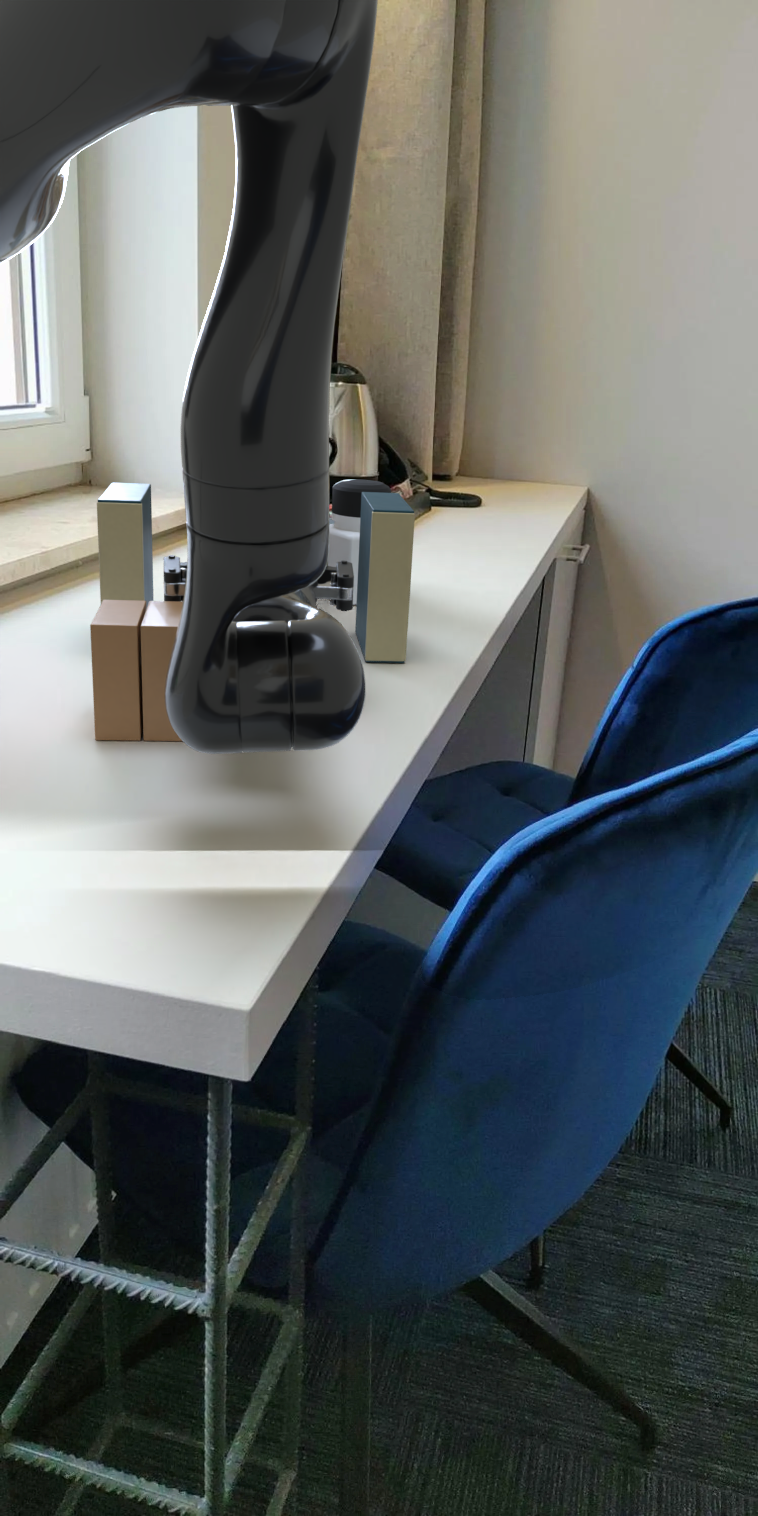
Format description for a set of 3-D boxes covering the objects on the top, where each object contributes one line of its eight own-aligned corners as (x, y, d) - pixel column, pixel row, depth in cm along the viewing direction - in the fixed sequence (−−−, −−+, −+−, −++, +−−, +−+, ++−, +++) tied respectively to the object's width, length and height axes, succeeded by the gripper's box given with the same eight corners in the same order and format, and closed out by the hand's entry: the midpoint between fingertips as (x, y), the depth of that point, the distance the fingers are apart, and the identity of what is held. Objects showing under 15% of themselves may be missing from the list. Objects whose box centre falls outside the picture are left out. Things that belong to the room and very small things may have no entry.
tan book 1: (95, 740, 75) (90, 624, 72) (107, 706, 81) (102, 599, 78) (140, 740, 75) (137, 625, 72) (148, 707, 82) (146, 600, 79)
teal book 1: (102, 658, 93) (96, 499, 88) (115, 626, 102) (110, 482, 97) (145, 658, 93) (141, 501, 88) (154, 627, 102) (151, 483, 98)
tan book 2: (143, 740, 75) (140, 625, 72) (151, 707, 82) (149, 600, 79) (188, 741, 76) (187, 626, 73) (193, 708, 82) (192, 601, 79)
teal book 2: (365, 663, 95) (372, 509, 91) (354, 632, 105) (360, 491, 100) (405, 663, 96) (415, 511, 91) (391, 632, 105) (399, 492, 100)
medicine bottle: (403, 600, 118) (410, 484, 114) (347, 606, 114) (352, 487, 110) (365, 586, 123) (370, 475, 119) (310, 591, 119) (314, 477, 115)
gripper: (368, 559, 74) (347, 518, 89) (151, 552, 72) (167, 512, 87) (363, 667, 77) (343, 610, 92) (154, 663, 75) (168, 605, 90)
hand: (257, 562), depth 90 cm, fingers open, 8 cm apart
